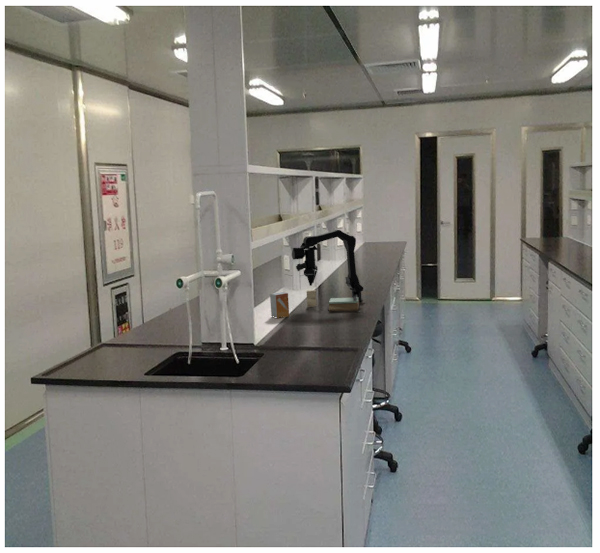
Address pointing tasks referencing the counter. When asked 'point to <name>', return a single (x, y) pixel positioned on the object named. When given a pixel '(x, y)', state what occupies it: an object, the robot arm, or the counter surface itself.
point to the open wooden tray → (344, 307)
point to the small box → (279, 304)
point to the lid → (344, 300)
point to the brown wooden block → (311, 298)
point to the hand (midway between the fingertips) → (311, 284)
